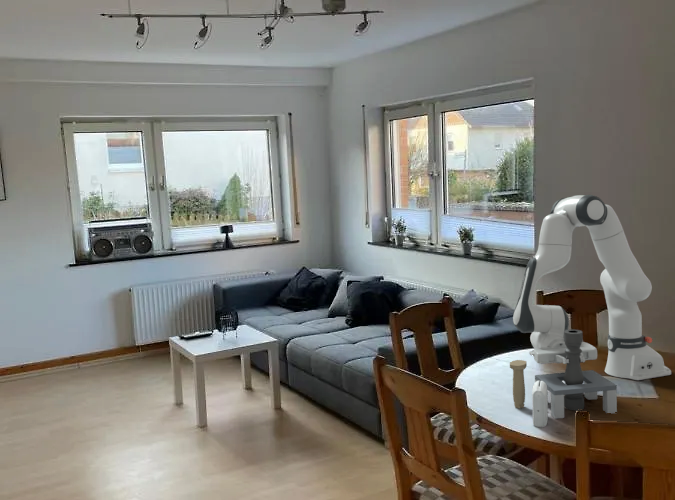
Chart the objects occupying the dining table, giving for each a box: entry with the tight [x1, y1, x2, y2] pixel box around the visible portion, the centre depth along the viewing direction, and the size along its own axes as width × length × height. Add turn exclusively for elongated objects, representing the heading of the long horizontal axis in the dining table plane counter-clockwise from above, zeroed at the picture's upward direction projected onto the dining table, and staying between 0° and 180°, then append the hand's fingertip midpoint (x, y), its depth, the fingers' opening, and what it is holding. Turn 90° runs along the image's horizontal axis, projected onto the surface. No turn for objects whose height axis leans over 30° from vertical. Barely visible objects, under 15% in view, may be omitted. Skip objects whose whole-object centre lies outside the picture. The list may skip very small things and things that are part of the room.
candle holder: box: [563, 329, 585, 411], centre depth 215 cm, size 6×6×25 cm
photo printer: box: [531, 381, 549, 428], centre depth 206 cm, size 10×4×12 cm, turn 160°
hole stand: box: [534, 369, 618, 420], centre depth 216 cm, size 20×16×9 cm
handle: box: [509, 359, 527, 410], centre depth 218 cm, size 5×6×15 cm
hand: (574, 360), depth 214 cm, fingers closed on candle holder, 4 cm apart
